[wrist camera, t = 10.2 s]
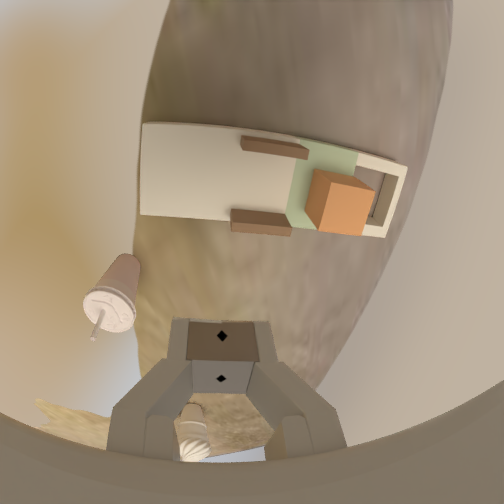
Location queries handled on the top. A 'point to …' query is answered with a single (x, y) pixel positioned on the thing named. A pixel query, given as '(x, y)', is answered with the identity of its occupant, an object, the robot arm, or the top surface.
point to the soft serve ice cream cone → (192, 434)
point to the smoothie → (114, 296)
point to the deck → (249, 176)
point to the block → (338, 203)
